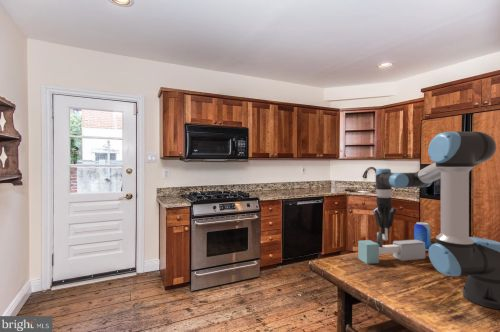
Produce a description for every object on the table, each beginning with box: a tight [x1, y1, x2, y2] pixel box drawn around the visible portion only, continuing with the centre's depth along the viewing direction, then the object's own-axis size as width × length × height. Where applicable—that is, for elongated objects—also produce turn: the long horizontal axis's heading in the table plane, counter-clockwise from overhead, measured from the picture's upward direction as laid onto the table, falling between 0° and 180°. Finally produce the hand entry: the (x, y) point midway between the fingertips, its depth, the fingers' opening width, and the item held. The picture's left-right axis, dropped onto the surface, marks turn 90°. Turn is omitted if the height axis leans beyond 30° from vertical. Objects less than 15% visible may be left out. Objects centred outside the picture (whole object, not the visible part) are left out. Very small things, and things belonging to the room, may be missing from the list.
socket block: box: [357, 239, 380, 265], centre depth 148 cm, size 8×7×10 cm
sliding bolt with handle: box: [376, 231, 400, 255], centre depth 150 cm, size 4×24×11 cm, turn 100°
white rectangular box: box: [392, 239, 426, 261], centre depth 152 cm, size 7×15×9 cm, turn 100°
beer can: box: [413, 221, 432, 252], centre depth 166 cm, size 8×8×16 cm
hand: (385, 239), depth 150 cm, fingers closed
